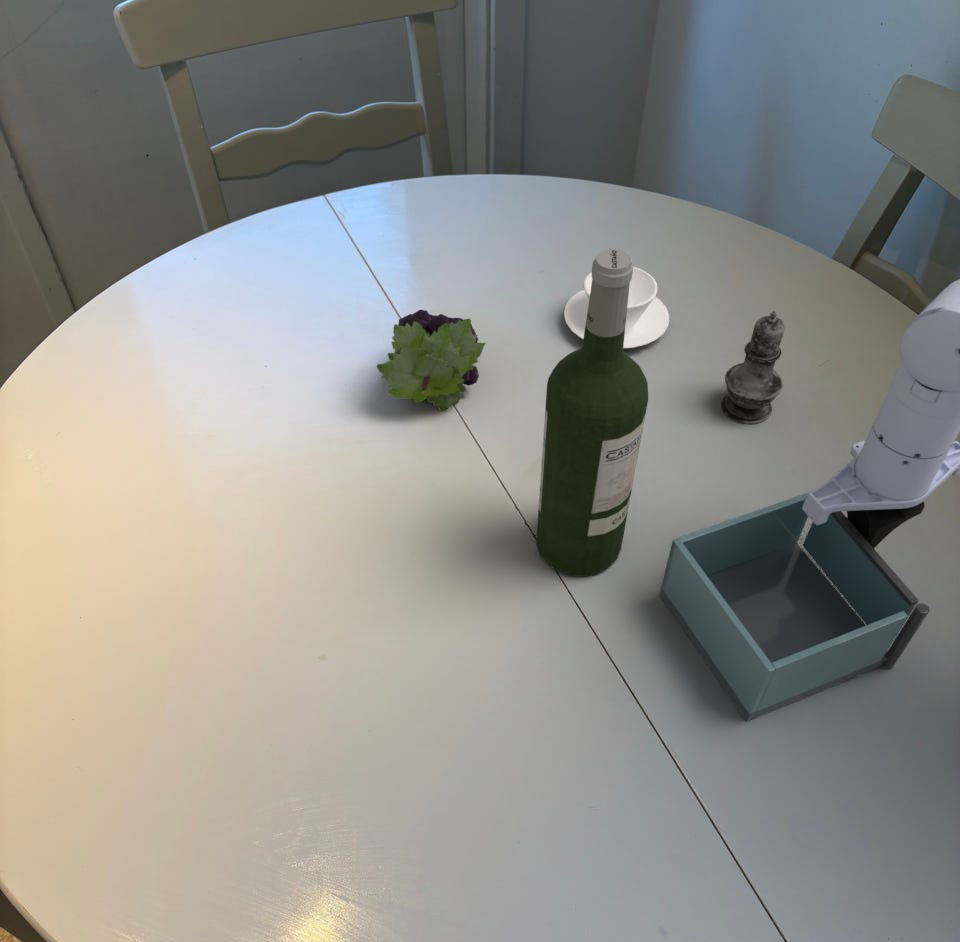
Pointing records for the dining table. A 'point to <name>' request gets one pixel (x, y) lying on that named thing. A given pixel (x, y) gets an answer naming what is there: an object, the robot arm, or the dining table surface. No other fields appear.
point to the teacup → (643, 310)
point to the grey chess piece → (755, 374)
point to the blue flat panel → (857, 570)
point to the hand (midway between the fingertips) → (855, 548)
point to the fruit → (432, 359)
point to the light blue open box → (772, 612)
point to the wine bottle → (592, 433)
